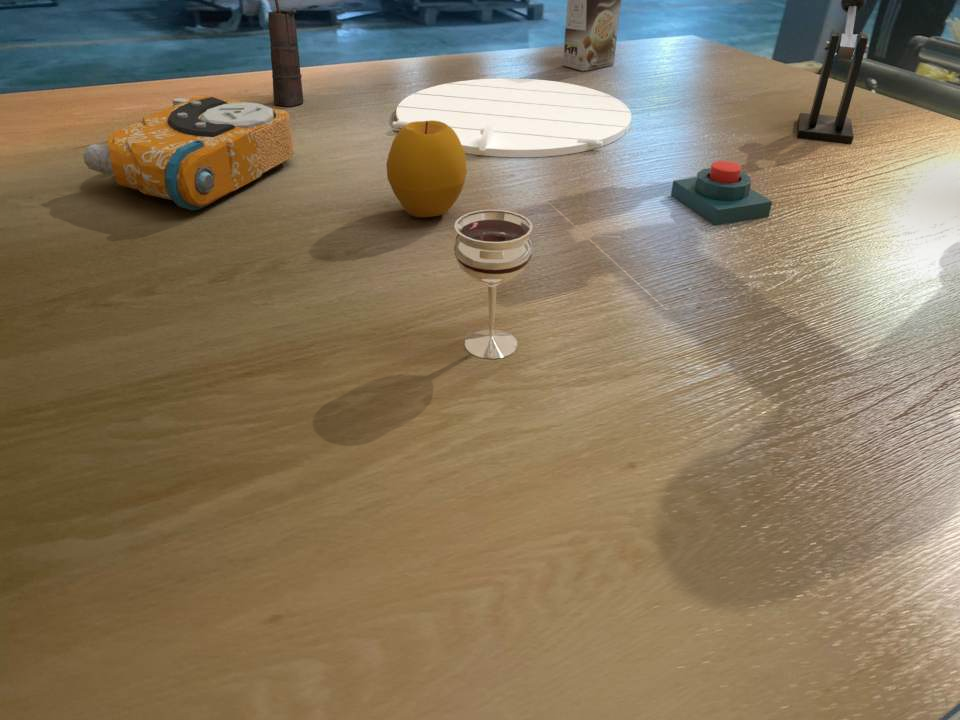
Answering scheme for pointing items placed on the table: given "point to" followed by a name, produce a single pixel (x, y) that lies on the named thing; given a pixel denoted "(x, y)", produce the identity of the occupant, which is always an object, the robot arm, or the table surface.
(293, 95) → the butter churn
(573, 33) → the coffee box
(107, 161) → the device
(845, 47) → the lever
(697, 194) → the panel
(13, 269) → the table surface
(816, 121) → the bracket
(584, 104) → the lazy susan
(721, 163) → the button
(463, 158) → the apple
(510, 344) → the wineglass
